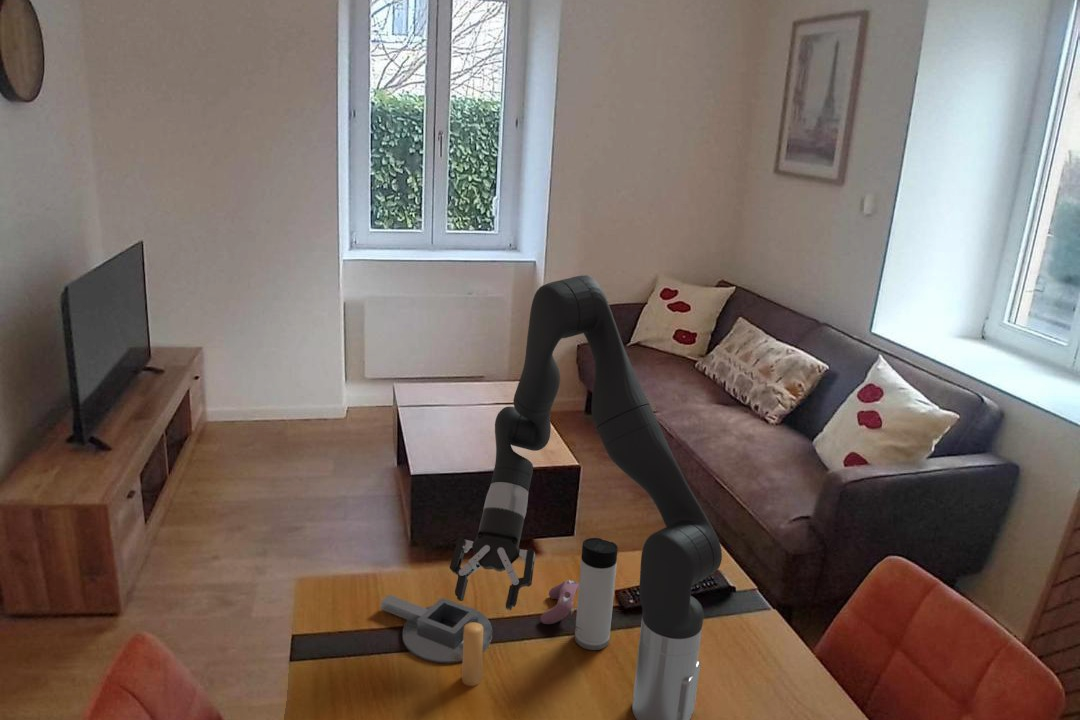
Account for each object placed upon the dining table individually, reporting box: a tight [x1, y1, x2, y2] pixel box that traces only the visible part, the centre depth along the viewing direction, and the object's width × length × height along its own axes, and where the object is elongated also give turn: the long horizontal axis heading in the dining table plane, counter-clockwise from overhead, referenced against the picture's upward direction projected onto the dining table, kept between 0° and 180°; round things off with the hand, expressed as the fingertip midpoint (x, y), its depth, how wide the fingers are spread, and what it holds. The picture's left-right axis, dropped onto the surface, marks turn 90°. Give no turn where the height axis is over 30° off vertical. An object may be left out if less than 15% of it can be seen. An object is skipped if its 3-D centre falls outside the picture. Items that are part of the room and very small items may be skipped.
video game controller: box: [540, 579, 579, 625], centre depth 155 cm, size 10×5×7 cm, turn 169°
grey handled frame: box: [380, 594, 493, 664], centre depth 148 cm, size 22×16×4 cm
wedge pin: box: [461, 622, 484, 687], centre depth 135 cm, size 3×3×10 cm
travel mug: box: [574, 537, 619, 651], centre depth 145 cm, size 6×7×20 cm
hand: (484, 604), depth 139 cm, fingers open, 8 cm apart
